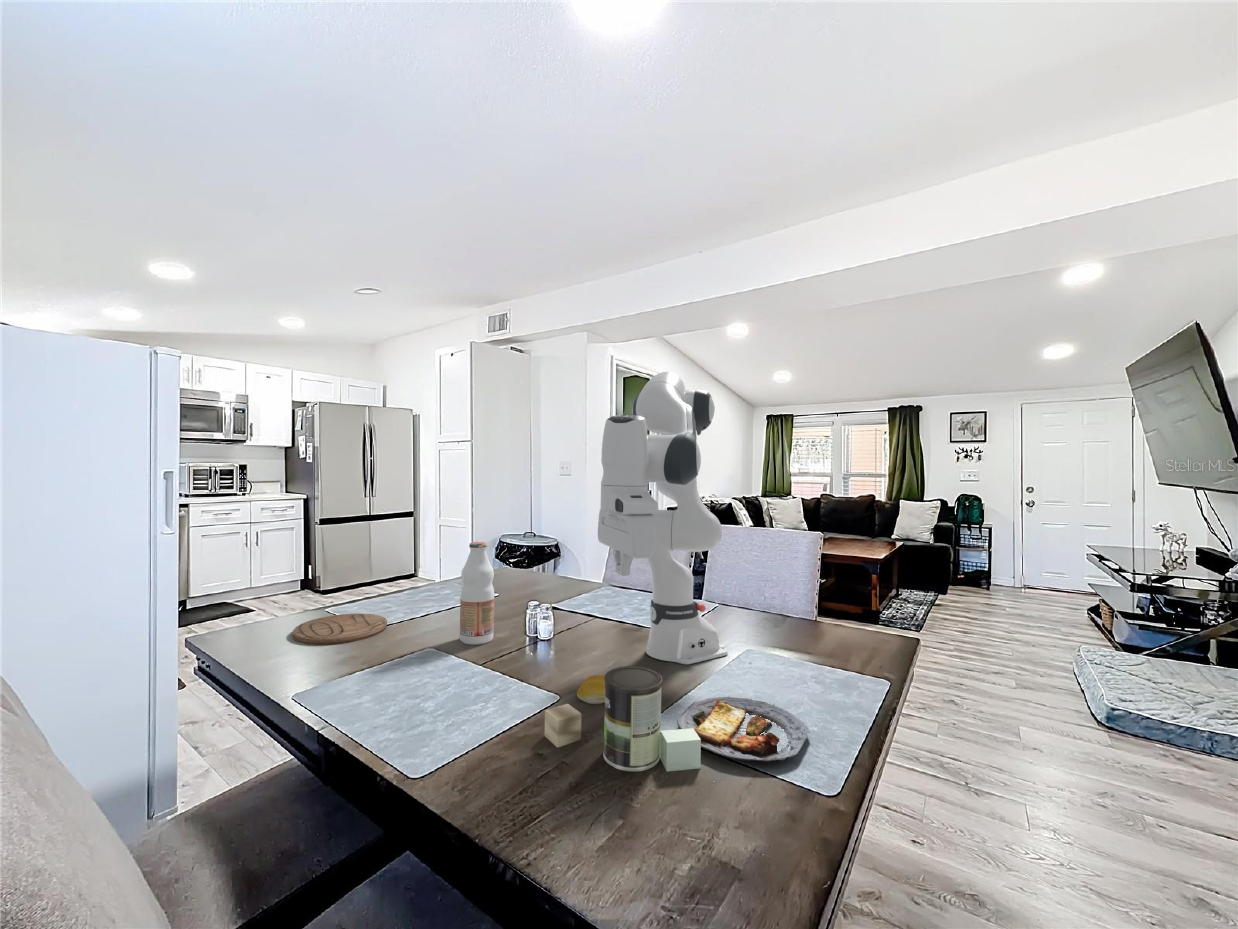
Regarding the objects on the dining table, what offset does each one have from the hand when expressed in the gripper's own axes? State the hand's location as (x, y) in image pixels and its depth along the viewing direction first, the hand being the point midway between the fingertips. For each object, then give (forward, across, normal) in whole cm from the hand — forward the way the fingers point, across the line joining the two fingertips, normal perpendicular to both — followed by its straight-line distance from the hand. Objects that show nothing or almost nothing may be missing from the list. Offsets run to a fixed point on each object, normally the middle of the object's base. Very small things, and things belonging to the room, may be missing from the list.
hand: (622, 574), depth 101 cm
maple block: (+31, -4, -10) cm, 33 cm away
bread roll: (+32, -19, +2) cm, 37 cm away
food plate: (+32, +6, +23) cm, 40 cm away
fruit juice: (+31, -65, -19) cm, 75 cm away
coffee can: (+31, +6, 0) cm, 32 cm away
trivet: (+32, -86, -56) cm, 107 cm away
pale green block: (+31, +11, +7) cm, 34 cm away
